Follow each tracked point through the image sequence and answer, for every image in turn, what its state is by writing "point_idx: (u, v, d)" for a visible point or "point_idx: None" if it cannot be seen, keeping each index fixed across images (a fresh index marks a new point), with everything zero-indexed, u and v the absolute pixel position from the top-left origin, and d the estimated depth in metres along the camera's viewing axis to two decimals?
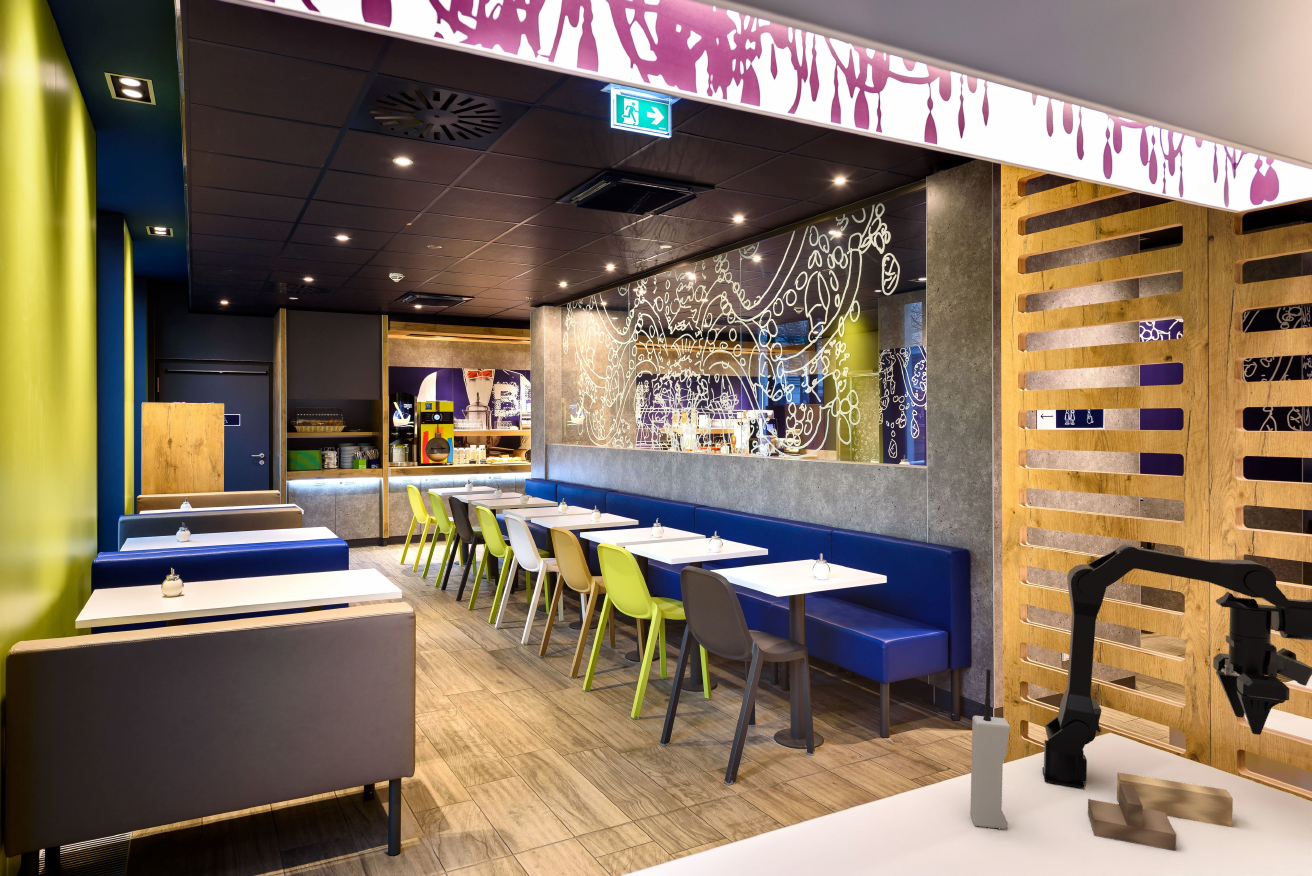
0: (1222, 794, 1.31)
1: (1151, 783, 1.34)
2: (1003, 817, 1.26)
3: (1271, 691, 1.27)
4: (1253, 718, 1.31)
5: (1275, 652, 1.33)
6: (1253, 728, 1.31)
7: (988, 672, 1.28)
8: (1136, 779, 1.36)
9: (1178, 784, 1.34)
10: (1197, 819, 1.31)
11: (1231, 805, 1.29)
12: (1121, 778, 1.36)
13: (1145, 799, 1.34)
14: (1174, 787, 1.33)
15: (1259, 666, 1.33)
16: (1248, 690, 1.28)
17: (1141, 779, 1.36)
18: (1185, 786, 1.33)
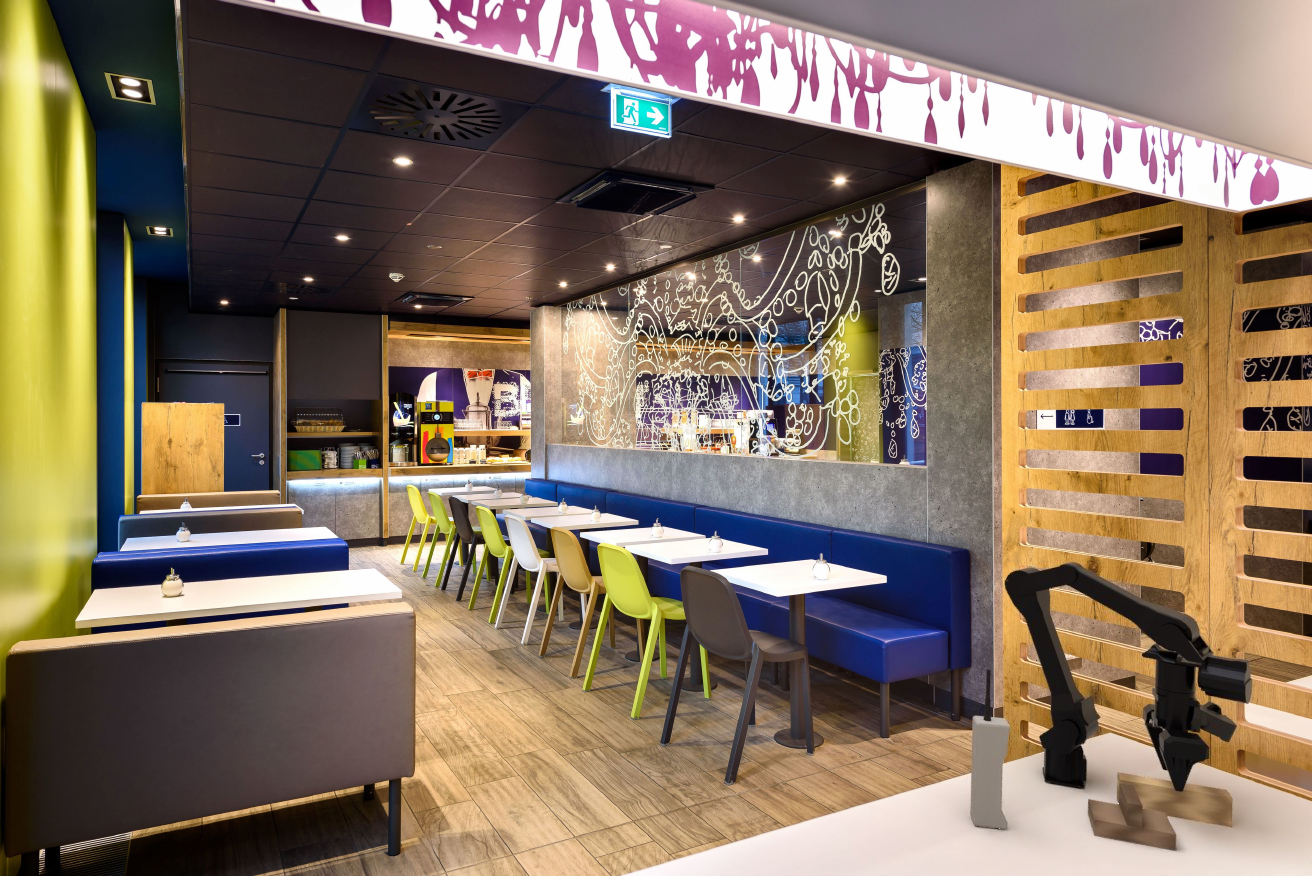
0: (1222, 794, 1.31)
1: (1151, 783, 1.34)
2: (1003, 817, 1.26)
3: (1191, 749, 1.25)
4: (1175, 775, 1.29)
5: (1198, 707, 1.31)
6: (1176, 784, 1.30)
7: (988, 672, 1.28)
8: (1136, 779, 1.36)
9: None
10: (1197, 819, 1.31)
11: (1231, 805, 1.29)
12: (1121, 778, 1.36)
13: (1145, 799, 1.34)
14: None
15: (1182, 721, 1.31)
16: (1168, 748, 1.26)
17: (1141, 779, 1.36)
18: (1185, 786, 1.33)
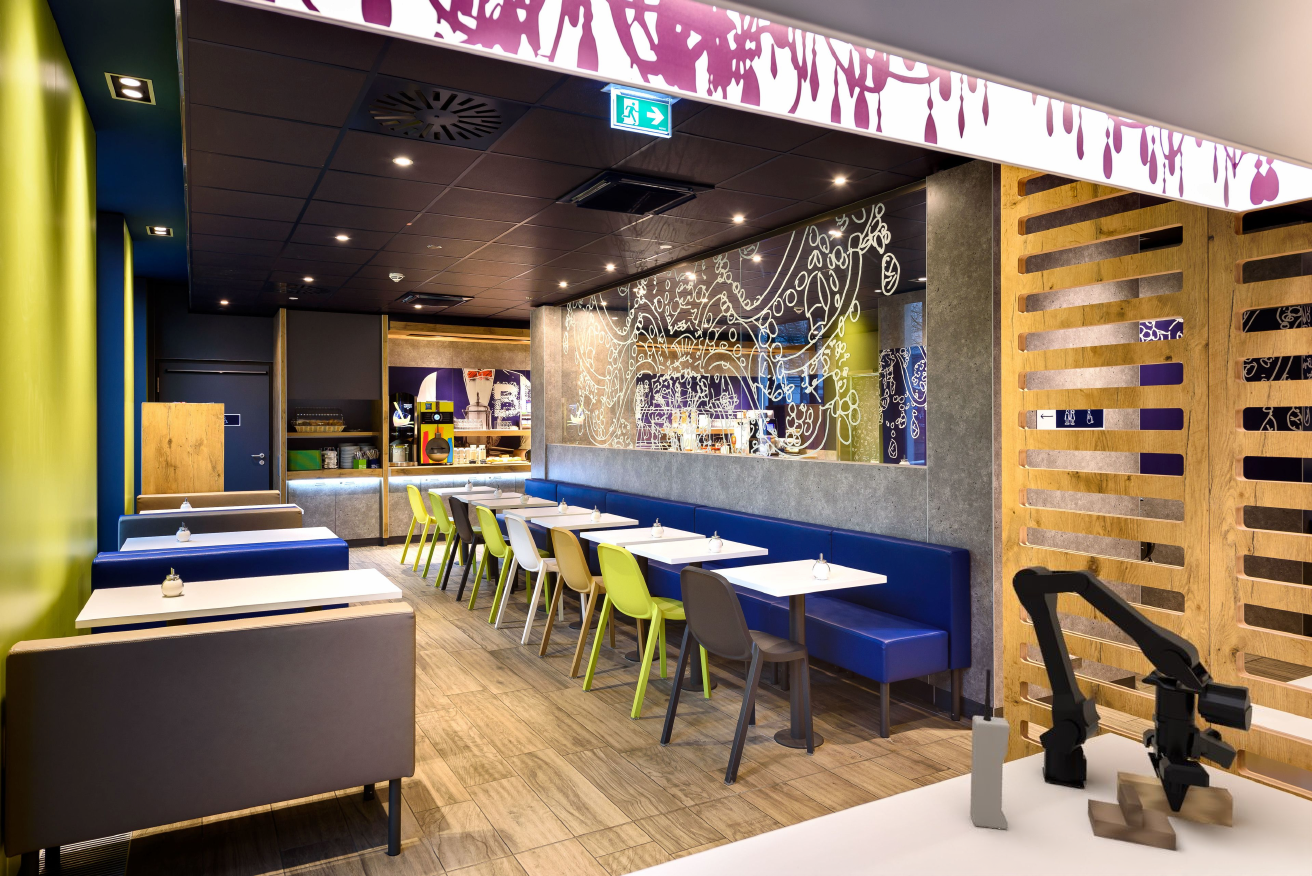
0: (1222, 793, 1.31)
1: (1151, 782, 1.34)
2: (1003, 817, 1.26)
3: (1191, 777, 1.25)
4: (1172, 796, 1.31)
5: (1198, 734, 1.31)
6: (1172, 805, 1.32)
7: (988, 672, 1.28)
8: (1137, 778, 1.36)
9: None
10: (1197, 818, 1.31)
11: (1231, 804, 1.29)
12: (1121, 777, 1.36)
13: (1145, 798, 1.34)
14: None
15: (1182, 748, 1.31)
16: (1168, 776, 1.26)
17: (1142, 778, 1.36)
18: None
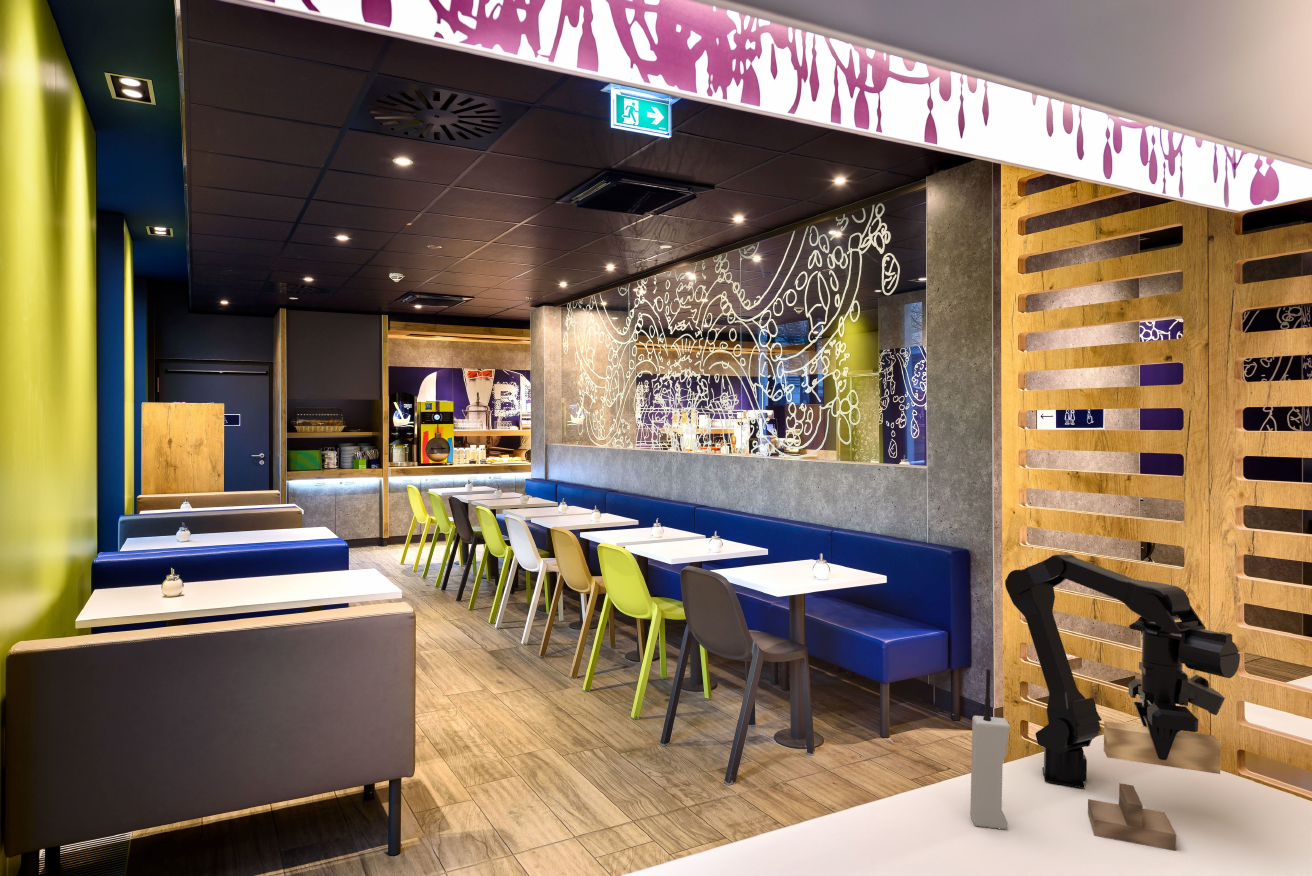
0: (1210, 739, 1.29)
1: (1138, 731, 1.32)
2: (1003, 817, 1.26)
3: (1180, 722, 1.23)
4: (1159, 743, 1.29)
5: (1186, 680, 1.28)
6: (1160, 753, 1.30)
7: (988, 672, 1.28)
8: (1124, 727, 1.33)
9: None
10: (1185, 765, 1.29)
11: (1219, 750, 1.27)
12: (1108, 726, 1.33)
13: (1133, 747, 1.31)
14: None
15: (1170, 695, 1.29)
16: (1157, 721, 1.24)
17: (1129, 727, 1.33)
18: None
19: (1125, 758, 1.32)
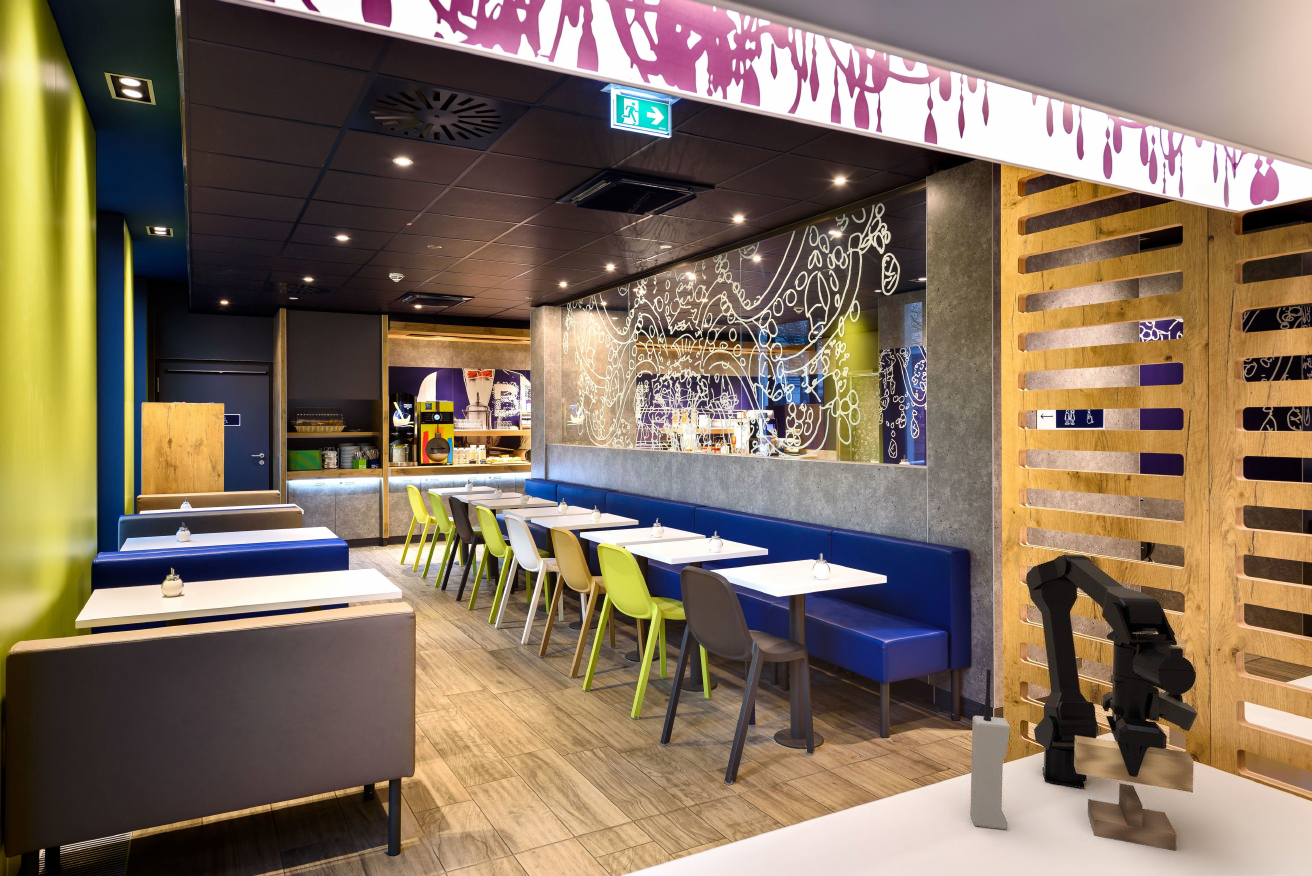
0: (1183, 756, 1.24)
1: (1108, 746, 1.27)
2: (1003, 817, 1.26)
3: (1148, 738, 1.18)
4: (1129, 760, 1.24)
5: (1157, 694, 1.24)
6: (1130, 769, 1.25)
7: (988, 672, 1.28)
8: (1094, 741, 1.29)
9: None
10: (1156, 783, 1.24)
11: (1192, 767, 1.22)
12: (1078, 741, 1.29)
13: (1103, 763, 1.27)
14: None
15: (1140, 709, 1.24)
16: (1124, 737, 1.19)
17: (1099, 742, 1.29)
18: None
19: (1095, 774, 1.27)
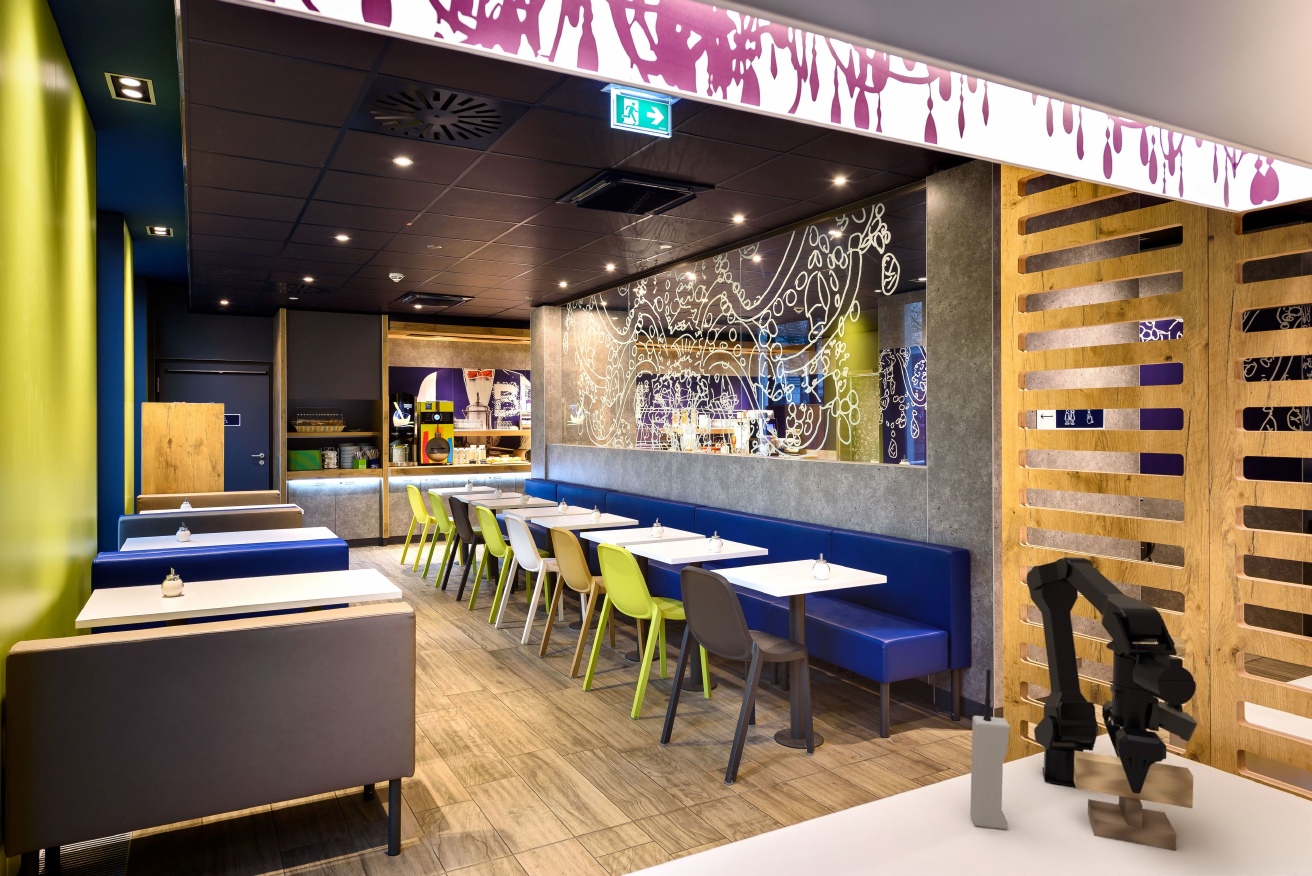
0: (1182, 772, 1.24)
1: (1108, 761, 1.27)
2: (1003, 817, 1.26)
3: (1148, 749, 1.18)
4: (1132, 776, 1.22)
5: (1157, 704, 1.24)
6: (1133, 786, 1.22)
7: (988, 672, 1.28)
8: (1094, 757, 1.29)
9: None
10: (1156, 799, 1.24)
11: (1191, 783, 1.22)
12: (1077, 756, 1.29)
13: (1102, 778, 1.27)
14: None
15: (1140, 719, 1.24)
16: (1124, 747, 1.19)
17: (1099, 757, 1.29)
18: None
19: (1094, 790, 1.27)
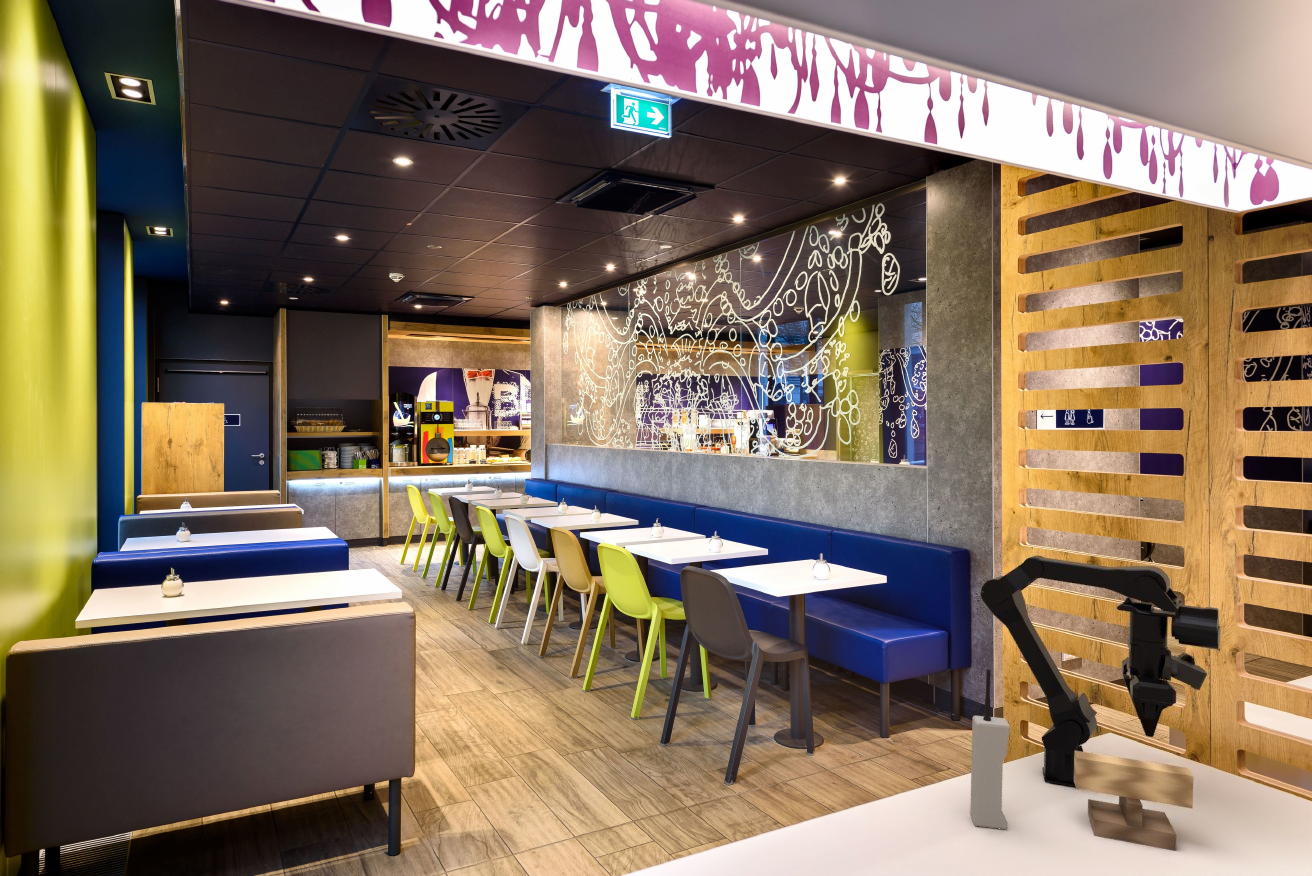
0: (1182, 772, 1.24)
1: (1108, 761, 1.27)
2: (1003, 817, 1.26)
3: (1159, 694, 1.30)
4: (1145, 721, 1.34)
5: (1169, 656, 1.35)
6: (1146, 730, 1.34)
7: (988, 672, 1.28)
8: (1094, 757, 1.29)
9: (1137, 762, 1.27)
10: (1156, 799, 1.24)
11: (1191, 783, 1.22)
12: (1077, 756, 1.29)
13: (1102, 778, 1.27)
14: (1133, 765, 1.26)
15: (1154, 670, 1.36)
16: (1137, 693, 1.31)
17: (1099, 757, 1.29)
18: (1145, 764, 1.26)
19: (1094, 790, 1.27)
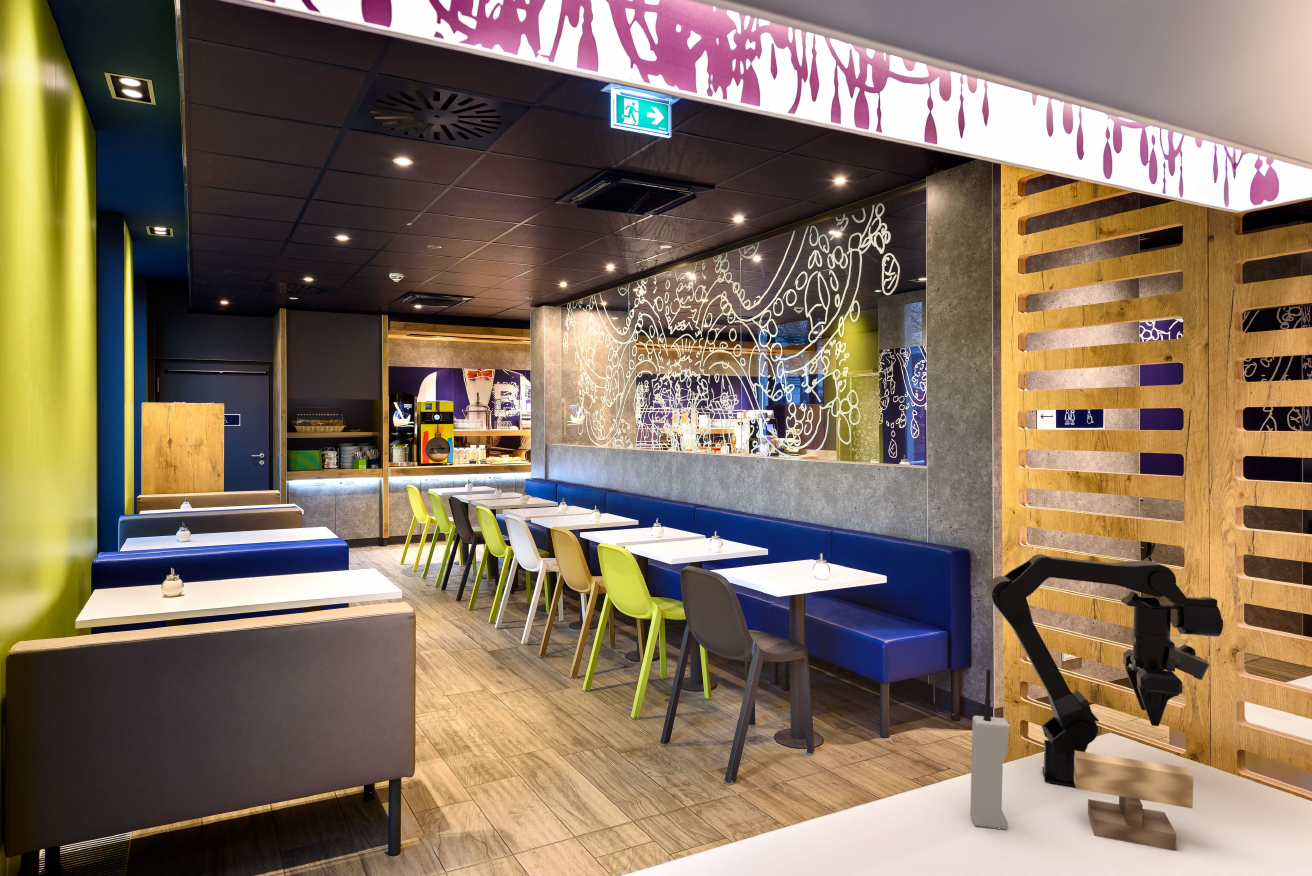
0: (1182, 772, 1.24)
1: (1108, 761, 1.27)
2: (1003, 817, 1.26)
3: (1166, 684, 1.34)
4: (1151, 710, 1.38)
5: (1173, 648, 1.40)
6: (1152, 720, 1.39)
7: (988, 672, 1.28)
8: (1094, 757, 1.29)
9: (1137, 762, 1.27)
10: (1156, 799, 1.24)
11: (1191, 783, 1.22)
12: (1077, 756, 1.29)
13: (1102, 778, 1.27)
14: (1133, 765, 1.26)
15: (1158, 661, 1.40)
16: (1145, 684, 1.35)
17: (1099, 757, 1.29)
18: (1145, 764, 1.26)
19: (1094, 790, 1.27)
